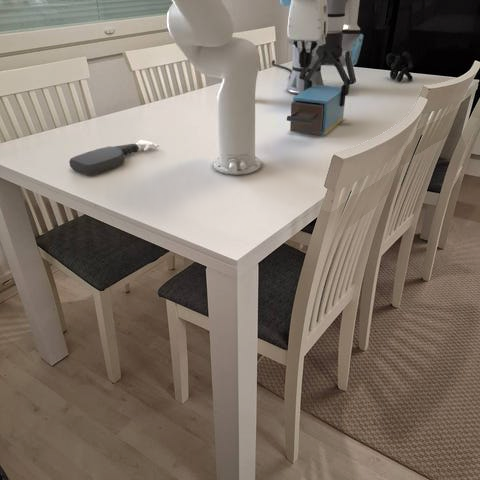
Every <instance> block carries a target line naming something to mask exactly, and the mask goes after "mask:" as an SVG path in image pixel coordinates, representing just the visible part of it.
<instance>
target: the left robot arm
mask: <svg viewBox="0 0 480 480" xmlns="http://www.w3.org/2000/svg"><path fill="white" fill-rule="evenodd" d="M171 2H172V4H171V5H170V6H169V9H168V10H167V14H166V15H167V17H166V24H167V30H168V32H169V35H170V37H171V39H172V41H173V42H174V43H175V45H176V46H177V47H178V48H179V50H180V51H181V53H182V54H183V55H184V56H185V58H186V59H187V60H188V61H189V63H190V64H191V65H192V66H193V67H194V69H196V71H198V72H199V73H200V74H202V75H204V76H207V77H211V78H216V79H221V80H222V83H221V85H220V87H219V90H218V93H217V97H216V110H217V111H216V112H217V133H218V135H217V136H218V137H217V138H218V157H216V158H215V159H214V160H213V167H214V169H215V170H216V171H217V172H219V173H222V174H226V175H233V176H234V175H238V176H239V175H247V174H252V173H254V172H256V171H258V170H259V169H260V168H261V166H262V161H261V159H260V158H259V157H258V156H256V90H257V89H256V88H257V80H258V74H259V69H260V61H261V60H260V59H261V58H260V53H259V50H258V48H257V46H256V45H255V44H254V43H253V42H252V41H250V40H248V39H246V38H242V37H237V36H233V35H234V29H235V27H234V22H233V19H232V17H231V14H230V13H229V10H228V9H227V8H226V6H225V4H224V2H223V1H222V0H171ZM327 23H328V19H327V0H292V1H291V6H290V7H289V10H288V21H287V42H286V43H288V44H290V45H292V46H293V45H295V46H296V48H297V49H298V52H299V64H300V67H301V68H302V67H304V68H307V67H309V65H310V64H311V55H312V51H313V50H314V49H315V48H316V47H317V46H321V45H324V44H325V37H326V36H327ZM305 40H308V42H307V47H305ZM318 40H319V41H318ZM315 41H316V42H315Z"/></svg>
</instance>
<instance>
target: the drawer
mask: <svg viewBox="0 0 480 480" xmlns="http://www.w3.org/2000/svg"><path fill="white" fill-rule="evenodd" d="M323 116H324V104H320V103H312V102H304V101H298V102H293V101H292V102H291V104H290V115H287V116H286V121H288V122H290V123H289V124H290V125H289V126H290V127H289V131H290V132H297V133H303V134H308V133H309V135H316V136H322V135H321V131H322V129H323Z"/></svg>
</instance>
